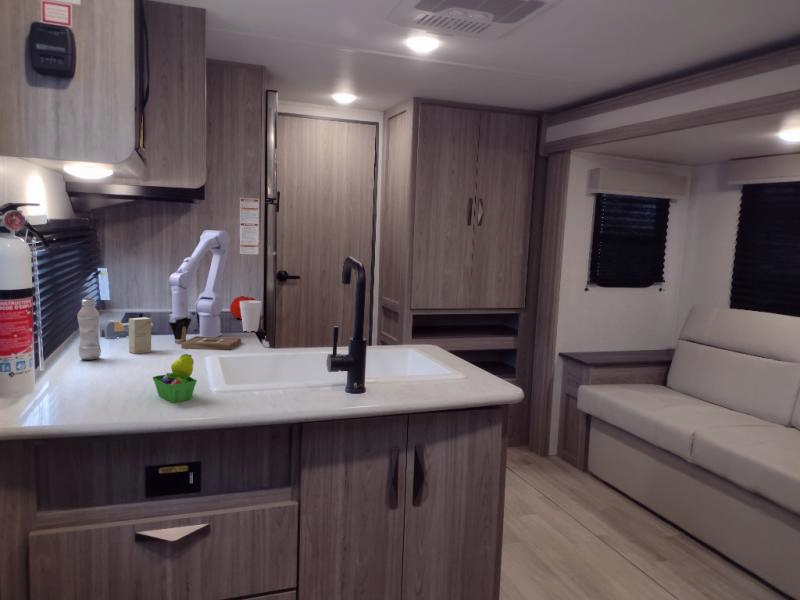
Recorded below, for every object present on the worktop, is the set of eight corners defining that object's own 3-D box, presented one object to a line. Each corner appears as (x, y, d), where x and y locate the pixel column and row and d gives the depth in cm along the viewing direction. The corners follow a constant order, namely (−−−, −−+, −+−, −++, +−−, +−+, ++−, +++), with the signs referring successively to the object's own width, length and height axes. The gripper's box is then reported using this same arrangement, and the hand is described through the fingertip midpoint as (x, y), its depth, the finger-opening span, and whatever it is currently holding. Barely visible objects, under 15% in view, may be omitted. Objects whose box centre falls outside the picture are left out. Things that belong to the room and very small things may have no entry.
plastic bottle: (91, 362, 183) (90, 301, 181) (73, 360, 185) (71, 299, 182) (105, 358, 190) (104, 299, 187) (88, 356, 191) (86, 297, 189)
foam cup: (239, 329, 254) (239, 300, 253) (260, 328, 257) (260, 300, 255) (240, 332, 245) (240, 303, 244) (261, 332, 248) (262, 303, 246)
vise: (109, 340, 220) (108, 323, 220) (97, 336, 227) (97, 320, 226) (153, 334, 234) (153, 319, 234) (141, 331, 241) (141, 316, 240)
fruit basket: (151, 395, 150) (150, 353, 149) (184, 389, 156) (183, 349, 155) (169, 405, 142) (168, 361, 141) (202, 399, 148) (202, 356, 147)
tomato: (262, 320, 281) (262, 297, 280) (233, 321, 274) (233, 297, 272) (254, 316, 292) (255, 294, 291) (227, 317, 285) (227, 294, 284)
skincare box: (134, 354, 197) (134, 319, 196) (128, 352, 200) (127, 318, 198) (152, 351, 202) (151, 318, 201) (145, 349, 205) (145, 316, 203)
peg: (177, 341, 223) (177, 326, 222) (187, 341, 223) (187, 326, 222) (173, 343, 219) (172, 327, 218) (183, 343, 218) (183, 328, 218)
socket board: (196, 341, 223) (196, 335, 223) (241, 343, 223) (241, 337, 223) (181, 348, 210) (181, 342, 209) (229, 350, 209) (229, 344, 209)
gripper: (177, 301, 226) (178, 334, 228) (161, 305, 212) (161, 341, 213) (195, 301, 226) (195, 335, 228) (180, 306, 212) (180, 341, 213)
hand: (180, 338), depth 220 cm, fingers closed on peg, 4 cm apart
